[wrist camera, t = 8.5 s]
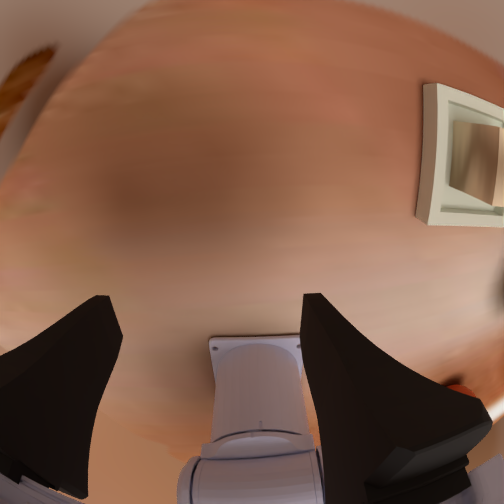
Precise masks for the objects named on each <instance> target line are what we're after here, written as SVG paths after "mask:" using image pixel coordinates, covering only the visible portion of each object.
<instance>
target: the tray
mask: <svg viewBox="0 0 504 504" xmlns="http://www.w3.org/2000/svg"><path fill="white" fill-rule="evenodd" d="M453 121H459V122H468V123H477V124H484V125H491V126H497V127H501V128H504V109H503V108H501V107H499V106H496V105H494V104H492V103H490V102H487V101H485V100H483V99H480V98H478V97H475V96H473V95H470V94H468V93H465V92H462V91H460V90H457V89H454V88H451V87H448V86H445V85H442V84H439V83H432V84H424V85H423V147H422V162H421V174H420V184H419V193H418V201H417V208H416V215H415V217H416V218H418V219H419V220H421V221H422V222H424V223H425V224H427V225H445V226H479V227H504V207H498V206H491V205H489V204H487V203H485V202H483V201H481V200H479V199H477V198H475V197H473V196H471V195H468V194H466V193H464V192H462V191H459V190H457V189H455V188H452V187H450V186H449V181H450V172H451V160H452V145H453Z"/></svg>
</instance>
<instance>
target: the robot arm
mask: <svg viewBox="0 0 504 504" xmlns="http://www.w3.org/2000/svg"><path fill="white" fill-rule="evenodd" d="M122 339H123V335H122V332H121V329H120V326H119V324H118V321H117V318H116V315H115V312H114V309H113V306H112V303H111V300H110V297H109V296H104V295H96V296H94V297H92V298H90V299H89V300H87V301H86V302H84V303H83V304H81V305H80V306H78V307H77V308H75V309H74V310H73V311H71V312H70V313H68V314H67V315H66V316H64V317H63V318H62V319H60V320H59V321H57V322H56V323H55V324H53V325H52V326H50V327H49V328H47V329H46V330H44V331H43V332H41V333H40V334H38V335H37V336H35V337H34V338H32V339H31V340H29V341H27V342H26V343H24V344H22V345H20V346H19V347H17V348H15V349H13V350H11V351H9V352H7V353H5V354H3V355H1V356H0V504H84V503H81V502H79V501H76V500H74V499H71V498H69V497H66V496H64V495H62V494H60V493H57V492H55V491H53V490H51V489H49V487H50V488H52V489H54V490H56V491H58V490H59V491H61V492H63V493H66V494H68V495H71V496H73V497H76V498H78V499H84V498H86V497H88V461H89V450H90V444H91V437H92V431H93V426H94V422H95V417H96V413H97V409H98V406H99V403H100V400H101V398H102V395H103V393H104V390H105V388H106V385H107V383H108V380H109V378H110V375H111V373H112V370H113V368H114V365H115V363H116V360H117V358H118V354H119V351H120V347H121V343H122ZM298 344H300V345H298ZM214 347H218V348H214ZM209 349H210V355H211V361H212V367H213V372H214V378H215V384H216V389H215V399H214V409H213V420H212V430H211V442H210V443H207V444H202V449H201V456H195V457H192V458H190V459H189V461H188V462H187V463H186V465H185V466H184V467H183V468H182V470H181V472H180V475H179V479H178V484H177V504H504V459H503V457H502V455H501V454H497V455H496V456H494V457H493V458H491V459H490V460H488V461H486V462H485V463H483V464H482V465H480V466H478V467H476V468H475V469H473V470H472V471H470V472H469V473H467V472H466V470H465V466H467V465H468V464H469V460H468V458H467V455H466V454H467V453H468V452H469V451H470V450H472V448H474V447H475V446H476V445H477V444H478V443H479V442H480V441H481V440H482V439H483V438H484V437H485V436H486V435H487V434H488V432H489V431H490V429H491V427H492V423H493V421H492V420H491V418H490V416H489V414H488V412H487V410H486V409H485V407H484V405H483V403H482V401H481V400H480V399H479V398H476V397H473V396H470V395H467V394H464V393H461V392H458V391H455V390H452V389H450V388H447V387H445V386H443V385H440V384H438V383H436V382H434V381H432V380H430V379H428V378H426V377H424V376H422V375H420V374H418V373H416V372H415V371H413V370H411V369H409V368H408V367H406V366H404V365H403V364H401V363H400V362H398V361H397V360H395V359H394V358H392V357H391V356H389V355H388V354H387V353H385V352H384V351H382V350H381V349H380V348H378V347H377V346H376V345H375V344H373V343H372V342H371V341H370V340H369V339H367V338H366V337H365V336H364V335H363V334H361V333H360V332H359V331H358V330H357V329H356V328H355V327H354V326H353V325H352V324H351V323H350V322H349V321H348V320H346V319H345V318H344V317H343V316H342V315H341V313H340V312H339V311H338V310H337V309H336V308H335V307H334V306H333V305H332V304H331V303H330V302H329V301H328V300H327V299H326V298H325V297H324V296H323V295H322V294H321V293H310V294H304V295H303V306H302V317H301V327H300V335H289V336H267V337H214V338H211V339H210V340H209ZM303 364H304V368H305V372H306V376H307V379H308V383H309V387H310V391H311V394H312V398H313V402H314V406H315V410H316V414H317V419H318V426H319V433H320V441H321V445H320V446H317V447H316V452H315V446H314V440H313V435H312V434H310V432H309V426H308V420H307V414H306V408H305V402H304V397H303V391H302V385H301V374H302V367H303Z"/></svg>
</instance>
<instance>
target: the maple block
mask: <svg viewBox="0 0 504 504" xmlns="http://www.w3.org/2000/svg"><path fill="white" fill-rule="evenodd" d="M449 186H450V187H452V188H455V189H457V190H459V191H462V192H464V193H466V194H468V195H471V196H473V197H475V198H477V199H479V200H481V201H483V202H485V203H487V204H489V205H491V206H498V207H504V128H501V127H497V126H491V125H484V124H477V123H468V122H459V121H453V145H452V160H451V172H450V181H449Z"/></svg>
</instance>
